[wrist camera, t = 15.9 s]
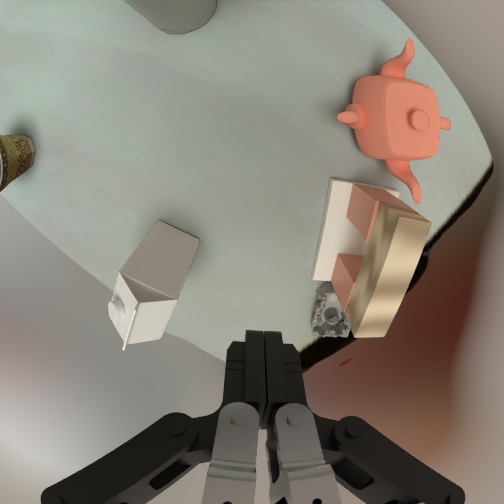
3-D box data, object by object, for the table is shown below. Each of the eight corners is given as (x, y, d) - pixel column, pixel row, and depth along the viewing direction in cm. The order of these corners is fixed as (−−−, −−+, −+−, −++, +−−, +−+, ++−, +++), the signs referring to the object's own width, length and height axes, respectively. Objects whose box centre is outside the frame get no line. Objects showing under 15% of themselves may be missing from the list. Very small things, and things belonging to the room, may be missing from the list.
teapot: (382, 183, 37) (420, 207, 27) (313, 117, 33) (337, 117, 23) (434, 120, 31) (480, 129, 22) (373, 51, 27) (412, 35, 18)
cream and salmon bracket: (330, 178, 37) (352, 197, 28) (395, 189, 37) (428, 210, 29) (311, 274, 44) (323, 312, 36) (370, 278, 44) (391, 312, 36)
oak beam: (379, 200, 28) (399, 216, 24) (409, 207, 29) (431, 223, 24) (344, 312, 36) (354, 337, 31) (372, 312, 36) (384, 336, 32)
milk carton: (200, 239, 41) (169, 325, 24) (184, 273, 44) (152, 363, 27) (158, 219, 40) (102, 293, 23) (145, 255, 42) (95, 337, 26)
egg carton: (317, 278, 45) (323, 293, 41) (358, 280, 45) (366, 294, 41) (306, 326, 50) (309, 341, 46) (343, 326, 50) (348, 340, 46)
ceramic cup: (32, 116, 30) (-8, 123, 21) (47, 164, 34) (9, 180, 26) (-3, 151, 32) (-37, 164, 23) (12, 194, 36) (-22, 213, 27)
